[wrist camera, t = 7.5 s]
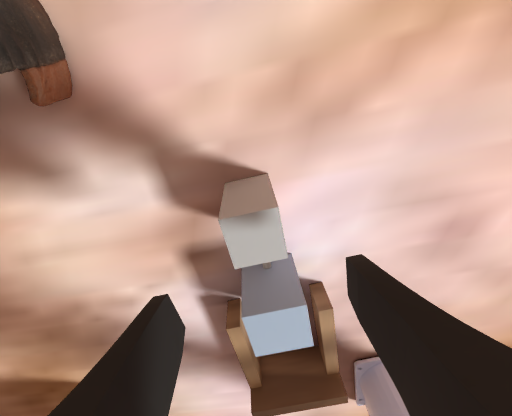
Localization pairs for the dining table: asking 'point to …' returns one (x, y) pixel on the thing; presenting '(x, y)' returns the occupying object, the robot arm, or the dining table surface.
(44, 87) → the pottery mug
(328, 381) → the walnut lane
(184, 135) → the dining table surface
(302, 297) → the tethered block
